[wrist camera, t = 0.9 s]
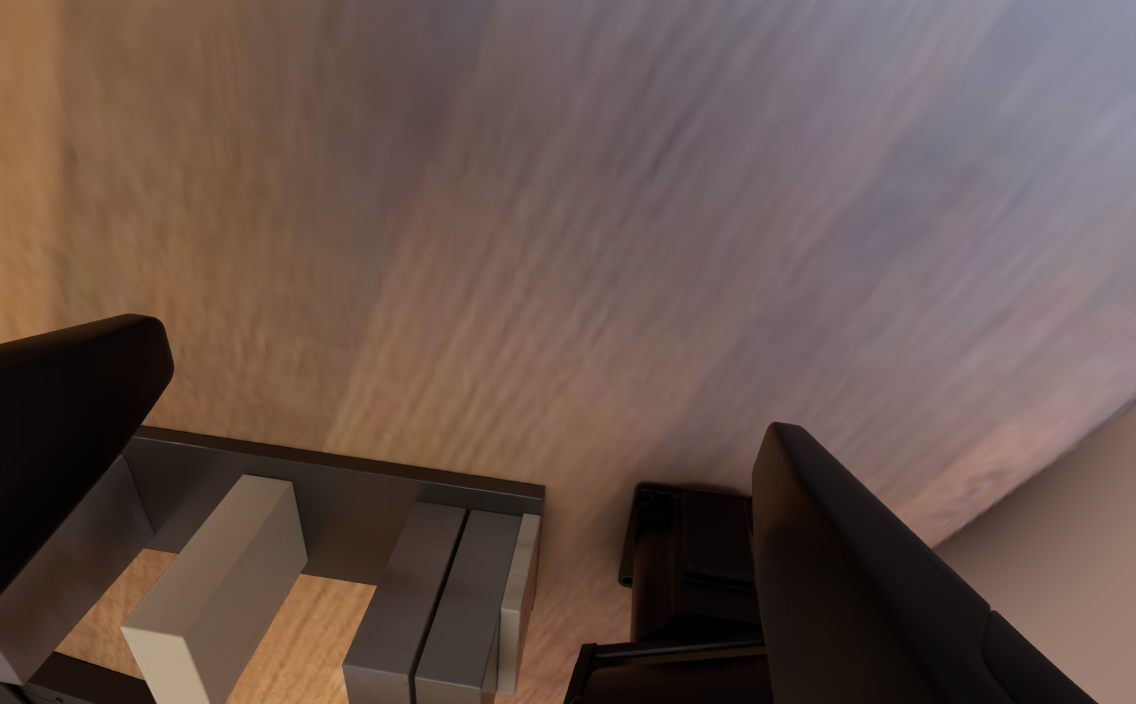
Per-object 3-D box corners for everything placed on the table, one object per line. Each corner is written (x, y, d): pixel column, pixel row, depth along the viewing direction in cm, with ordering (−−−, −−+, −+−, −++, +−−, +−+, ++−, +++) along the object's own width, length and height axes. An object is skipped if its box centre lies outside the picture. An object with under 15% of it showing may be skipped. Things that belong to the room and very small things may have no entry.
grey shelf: (535, 598, 33) (499, 785, 25) (69, 523, 34) (-94, 680, 27) (545, 486, 28) (505, 672, 21) (12, 406, 30) (-202, 553, 22)
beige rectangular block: (308, 560, 32) (215, 719, 25) (263, 552, 32) (158, 709, 25) (292, 480, 29) (182, 638, 22) (242, 473, 29) (118, 627, 22)
